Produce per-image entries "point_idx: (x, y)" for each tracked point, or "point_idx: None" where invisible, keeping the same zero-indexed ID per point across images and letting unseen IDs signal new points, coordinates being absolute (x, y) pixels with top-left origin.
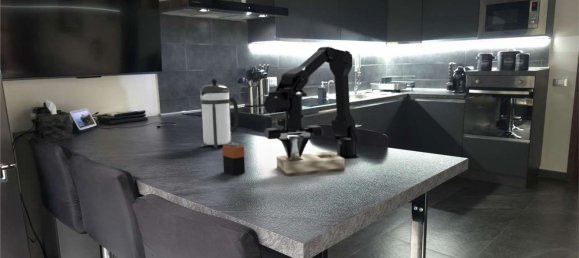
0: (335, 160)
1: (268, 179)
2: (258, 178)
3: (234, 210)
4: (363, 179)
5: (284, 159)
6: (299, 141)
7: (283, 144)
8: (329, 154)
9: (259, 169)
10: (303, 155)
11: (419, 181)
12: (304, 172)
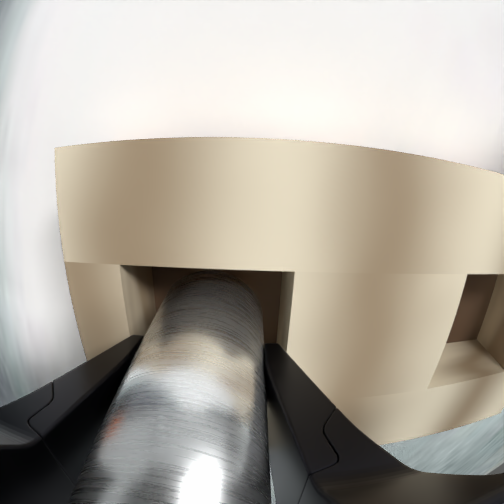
0: (458, 422)
1: (51, 379)
2: (11, 343)
3: None
4: (421, 468)
5: (106, 322)
6: (306, 488)
7: (19, 421)
8: None
9: (6, 162)
10: (370, 229)
11: (491, 470)
12: None
